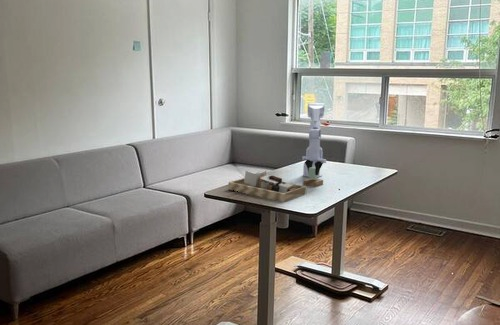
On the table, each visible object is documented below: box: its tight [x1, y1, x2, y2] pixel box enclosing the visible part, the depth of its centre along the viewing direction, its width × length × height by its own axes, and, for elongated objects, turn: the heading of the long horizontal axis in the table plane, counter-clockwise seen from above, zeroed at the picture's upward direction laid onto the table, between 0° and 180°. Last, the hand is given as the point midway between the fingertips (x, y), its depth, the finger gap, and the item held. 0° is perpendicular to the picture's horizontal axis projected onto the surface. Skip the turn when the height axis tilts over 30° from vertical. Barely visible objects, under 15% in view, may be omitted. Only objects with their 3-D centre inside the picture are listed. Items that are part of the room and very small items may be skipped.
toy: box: [244, 170, 298, 193], centre depth 252 cm, size 12×10×30 cm
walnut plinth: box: [302, 177, 324, 188], centre depth 269 cm, size 8×8×3 cm
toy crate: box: [228, 177, 307, 203], centre depth 252 cm, size 36×20×4 cm, turn 51°
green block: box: [308, 167, 319, 179], centre depth 268 cm, size 4×4×6 cm
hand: (313, 174), depth 268 cm, fingers closed on green block, 4 cm apart
